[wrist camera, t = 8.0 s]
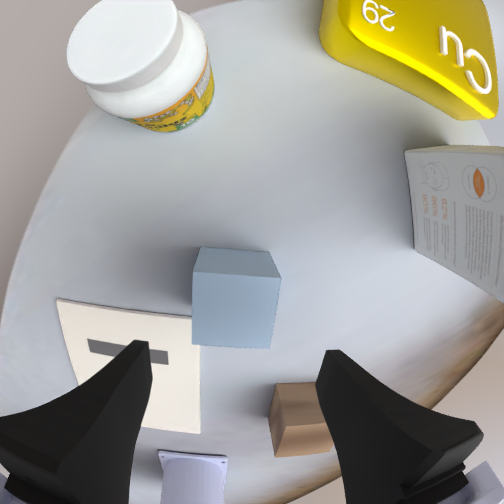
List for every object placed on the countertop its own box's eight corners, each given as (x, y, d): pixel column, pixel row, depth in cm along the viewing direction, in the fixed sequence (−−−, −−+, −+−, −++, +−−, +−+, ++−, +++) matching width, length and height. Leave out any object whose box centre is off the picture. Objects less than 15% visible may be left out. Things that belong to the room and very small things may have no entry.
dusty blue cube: (261, 311, 20) (269, 348, 16) (198, 307, 19) (191, 344, 15) (269, 251, 19) (281, 278, 14) (200, 246, 18) (192, 271, 14)
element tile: (460, 10, 13) (488, -2, 8) (465, 128, 17) (504, 128, 13) (330, -59, 11) (347, -87, 6) (313, 56, 15) (337, 29, 11)
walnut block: (316, 414, 24) (329, 451, 20) (267, 417, 24) (274, 457, 19) (329, 380, 23) (347, 419, 18) (276, 382, 22) (286, 426, 18)
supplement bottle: (222, 61, 15) (219, -27, 5) (205, 139, 16) (179, 108, 7) (142, 56, 14) (80, -16, 5) (124, 131, 15) (34, 109, 6)
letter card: (200, 430, 24) (200, 434, 23) (91, 412, 22) (90, 415, 22) (201, 317, 20) (200, 320, 19) (58, 298, 18) (55, 300, 18)
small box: (457, 235, 20) (547, 278, 10) (412, 251, 20) (508, 311, 10) (450, 143, 17) (554, 151, 7) (401, 148, 17) (519, 154, 7)
